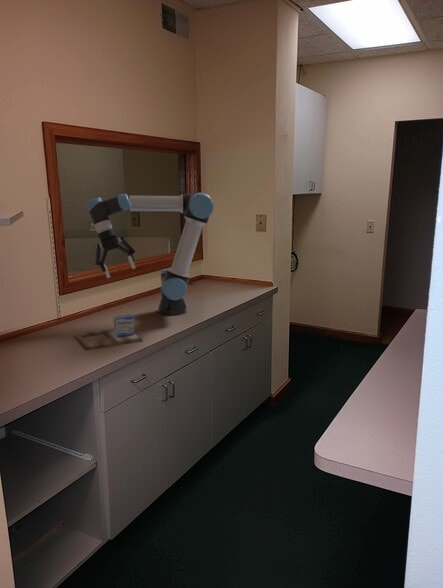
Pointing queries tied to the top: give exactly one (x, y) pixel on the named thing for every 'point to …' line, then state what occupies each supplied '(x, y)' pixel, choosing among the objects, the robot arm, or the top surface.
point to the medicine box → (123, 325)
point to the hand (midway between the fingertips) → (121, 273)
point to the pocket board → (106, 342)
